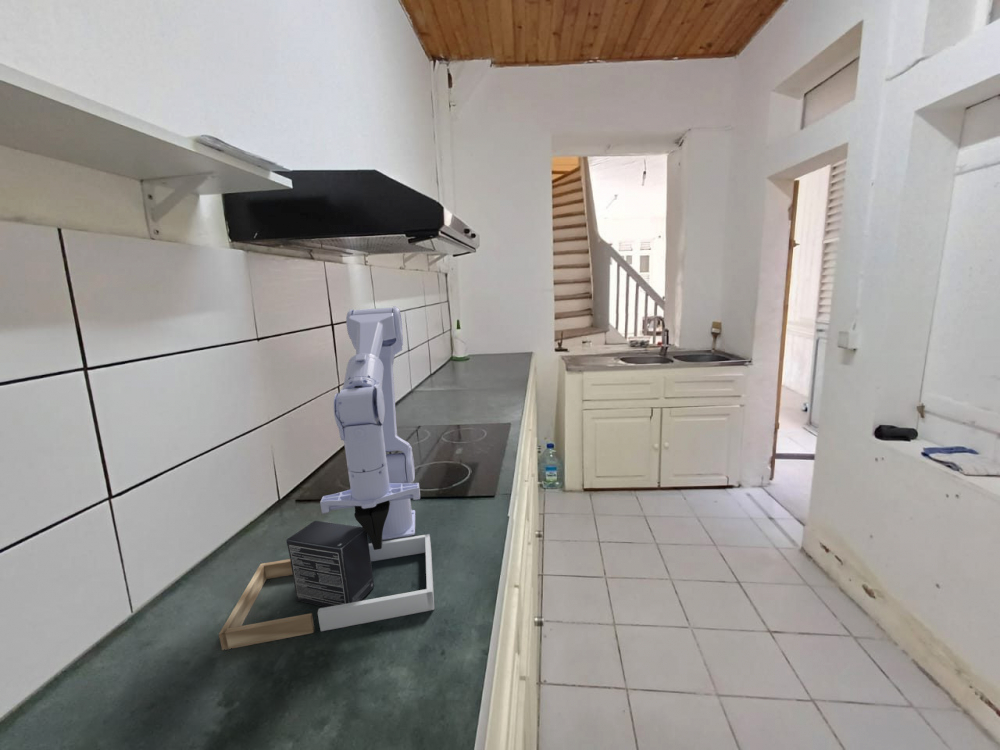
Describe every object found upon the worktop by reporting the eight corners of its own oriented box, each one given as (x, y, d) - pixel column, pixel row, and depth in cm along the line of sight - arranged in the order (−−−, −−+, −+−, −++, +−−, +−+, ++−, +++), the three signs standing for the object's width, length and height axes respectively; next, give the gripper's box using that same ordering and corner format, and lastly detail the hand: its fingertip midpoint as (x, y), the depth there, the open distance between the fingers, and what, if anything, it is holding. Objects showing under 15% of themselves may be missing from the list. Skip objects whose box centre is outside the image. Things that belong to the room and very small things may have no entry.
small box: (377, 585, 68) (369, 525, 66) (351, 614, 62) (341, 549, 60) (324, 574, 72) (315, 517, 70) (294, 601, 66) (283, 540, 64)
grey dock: (340, 564, 74) (338, 548, 74) (431, 548, 77) (429, 533, 77) (320, 631, 59) (317, 612, 59) (434, 609, 62) (432, 591, 61)
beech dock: (263, 576, 72) (260, 563, 72) (334, 565, 74) (332, 552, 74) (222, 650, 57) (218, 634, 57) (313, 632, 59) (310, 617, 59)
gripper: (310, 482, 59) (324, 569, 62) (415, 468, 62) (425, 552, 64) (321, 463, 66) (333, 542, 69) (416, 451, 69) (424, 528, 71)
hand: (378, 545), depth 67 cm, fingers closed
